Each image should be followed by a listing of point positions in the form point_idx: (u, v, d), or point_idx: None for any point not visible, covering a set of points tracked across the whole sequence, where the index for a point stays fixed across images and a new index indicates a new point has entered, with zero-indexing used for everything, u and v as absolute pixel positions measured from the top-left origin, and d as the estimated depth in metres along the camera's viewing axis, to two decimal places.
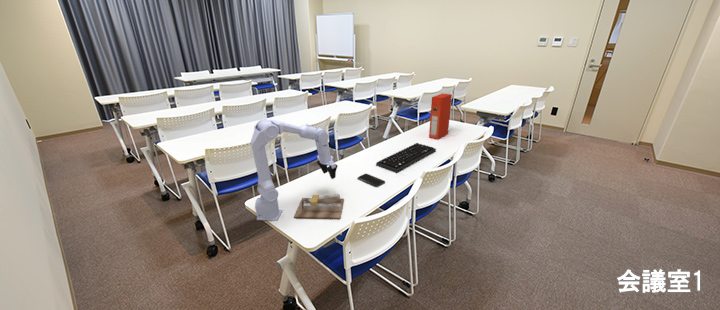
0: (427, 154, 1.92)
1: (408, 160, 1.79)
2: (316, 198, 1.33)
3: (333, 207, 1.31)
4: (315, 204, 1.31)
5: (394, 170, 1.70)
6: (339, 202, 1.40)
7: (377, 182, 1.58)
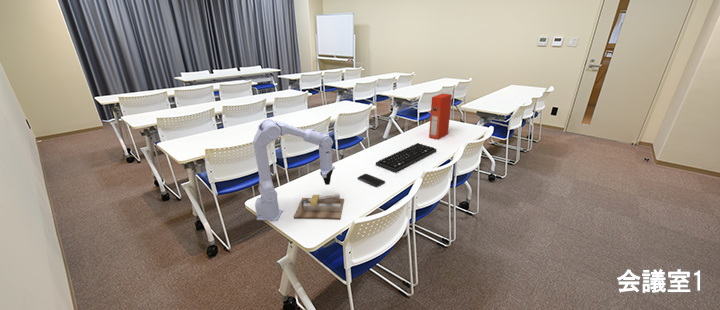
0: (427, 154, 1.92)
1: (408, 160, 1.79)
2: (316, 198, 1.33)
3: (333, 207, 1.31)
4: (315, 204, 1.31)
5: (393, 170, 1.71)
6: (339, 202, 1.40)
7: (377, 182, 1.58)
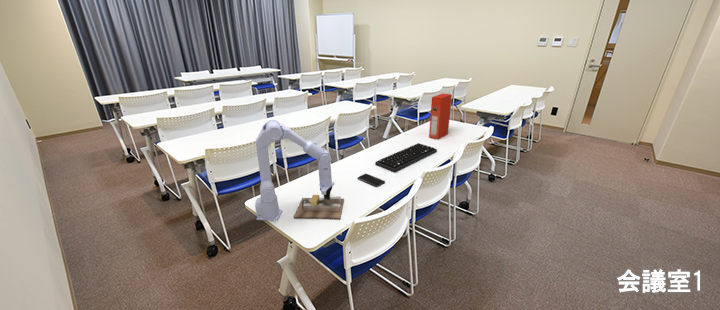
0: (427, 154, 1.91)
1: (407, 160, 1.79)
2: (316, 198, 1.33)
3: (333, 207, 1.31)
4: (315, 204, 1.31)
5: (392, 170, 1.71)
6: None
7: (377, 182, 1.58)
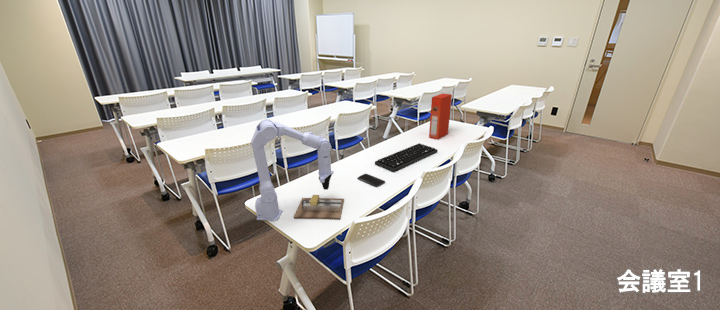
0: (428, 155, 1.91)
1: (407, 160, 1.79)
2: (316, 198, 1.33)
3: (333, 207, 1.31)
4: (315, 204, 1.31)
5: (391, 169, 1.71)
6: None
7: (377, 182, 1.58)
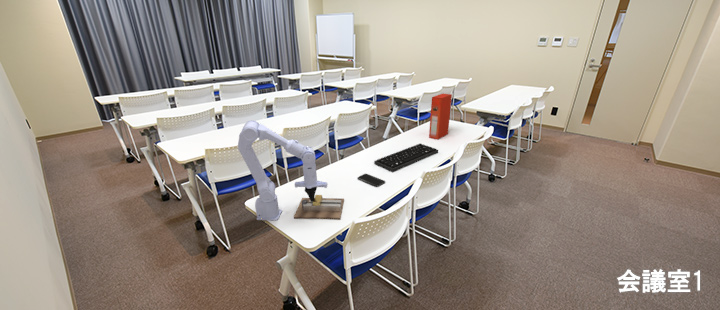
0: (428, 155, 1.91)
1: (406, 160, 1.79)
2: (319, 198, 1.33)
3: (333, 207, 1.31)
4: (318, 204, 1.31)
5: (390, 169, 1.72)
6: None
7: (377, 182, 1.58)
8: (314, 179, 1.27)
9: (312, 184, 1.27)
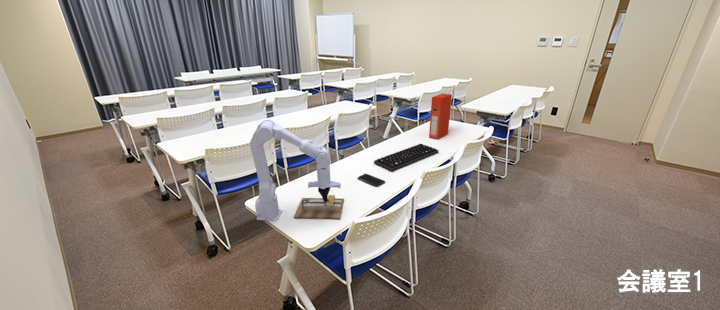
0: (428, 155, 1.90)
1: (406, 160, 1.79)
2: (332, 198, 1.33)
3: (333, 207, 1.31)
4: (331, 204, 1.30)
5: (389, 169, 1.72)
6: None
7: (377, 182, 1.58)
8: (328, 179, 1.27)
9: (326, 184, 1.27)
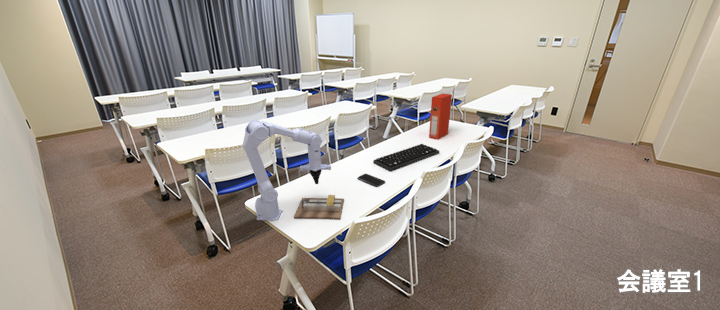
0: (428, 155, 1.90)
1: (405, 160, 1.79)
2: (332, 198, 1.33)
3: (333, 207, 1.31)
4: (331, 204, 1.30)
5: (388, 168, 1.72)
6: None
7: (377, 182, 1.58)
8: (319, 162, 1.34)
9: (317, 167, 1.34)
